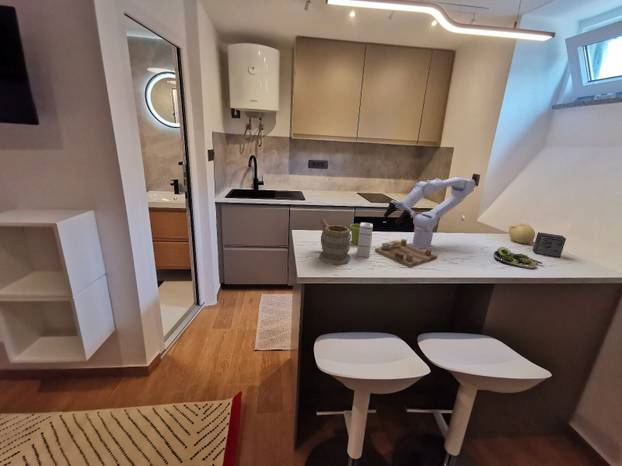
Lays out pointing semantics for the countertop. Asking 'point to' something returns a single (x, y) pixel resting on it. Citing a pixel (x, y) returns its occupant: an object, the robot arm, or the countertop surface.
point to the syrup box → (364, 239)
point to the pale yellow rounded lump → (521, 233)
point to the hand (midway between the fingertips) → (390, 219)
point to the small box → (549, 245)
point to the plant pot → (355, 232)
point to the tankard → (335, 244)
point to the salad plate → (514, 258)
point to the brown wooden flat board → (407, 254)
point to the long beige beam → (391, 245)
